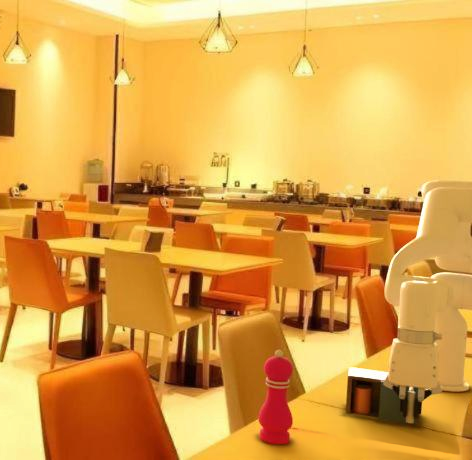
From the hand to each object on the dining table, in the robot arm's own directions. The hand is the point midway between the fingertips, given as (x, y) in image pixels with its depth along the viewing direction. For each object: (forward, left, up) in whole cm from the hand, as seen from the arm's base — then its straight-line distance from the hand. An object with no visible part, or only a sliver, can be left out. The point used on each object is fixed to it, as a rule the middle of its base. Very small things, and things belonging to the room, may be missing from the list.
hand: (410, 415), depth 172 cm
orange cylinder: (-9, -10, -3) cm, 14 cm away
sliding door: (-3, -2, -4) cm, 5 cm away
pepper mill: (+19, -27, -4) cm, 33 cm away
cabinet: (-10, -6, -4) cm, 13 cm away
